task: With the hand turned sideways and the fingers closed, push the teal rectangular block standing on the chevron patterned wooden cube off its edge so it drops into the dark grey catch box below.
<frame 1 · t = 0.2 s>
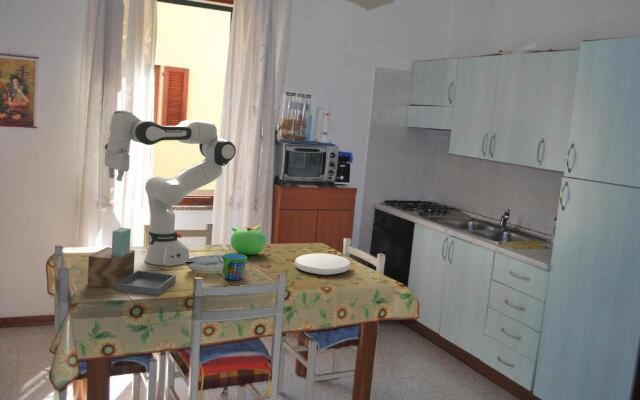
hand: (115, 179, 262), 39 cm above the table, tool pointing down, fingers open, 8 cm apart
snack cup: (233, 278, 266), on the table
plate: (322, 269, 296), on the table
chevron patterned wooden cube: (111, 281, 246), on the table
green eared pot: (247, 254, 311), on the table
catch box: (146, 286, 244), on the table
teal rectangular block: (120, 254, 244), point 12 cm above the table, touching chevron patterned wooden cube
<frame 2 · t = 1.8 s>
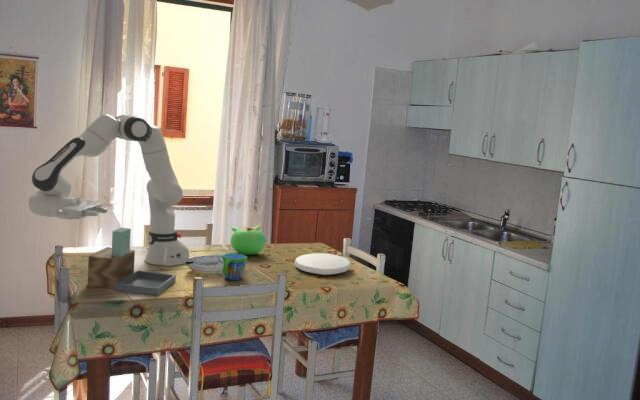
hand: (101, 212, 242), 28 cm above the table, tool horizontal, fingers open, 6 cm apart
nothing on the table moved.
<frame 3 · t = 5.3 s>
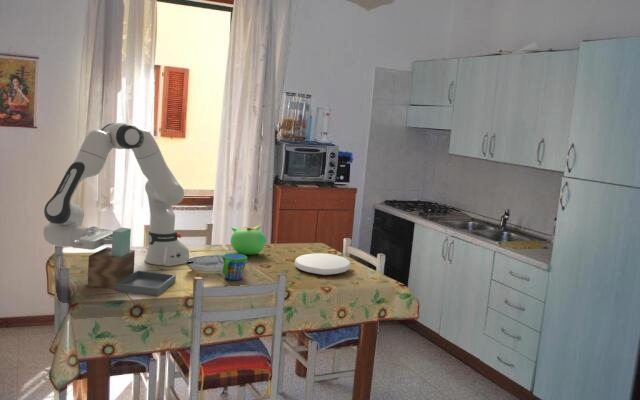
hand: (116, 241, 243), 17 cm above the table, tool horizontal, fingers closed, pressing on teal rectangular block
teal rectangular block: (120, 254, 244), point 12 cm above the table, touching chevron patterned wooden cube, gripper
everything else where it was.
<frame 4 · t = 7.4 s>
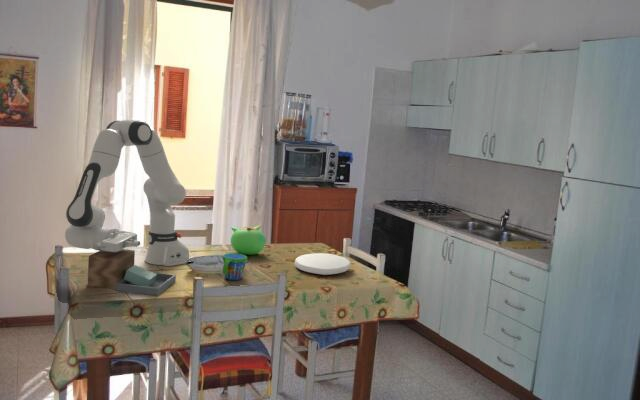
hand: (138, 244, 242), 17 cm above the table, tool horizontal, fingers closed
teal rectangular block: (129, 272, 244), point 5 cm above the table, tilted 106°, touching catch box
everything else where it was.
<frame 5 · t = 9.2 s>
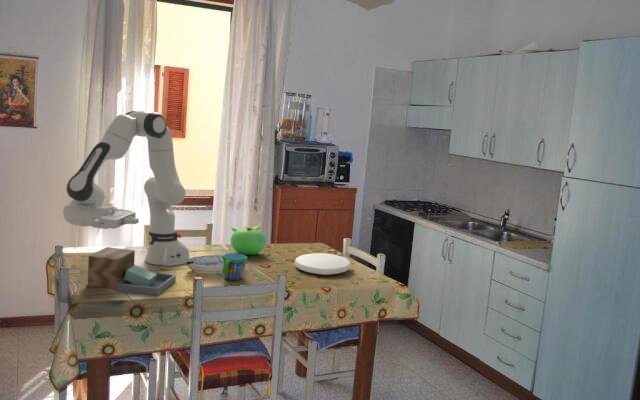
hand: (137, 221, 241), 26 cm above the table, tool horizontal, fingers closed
nothing on the table moved.
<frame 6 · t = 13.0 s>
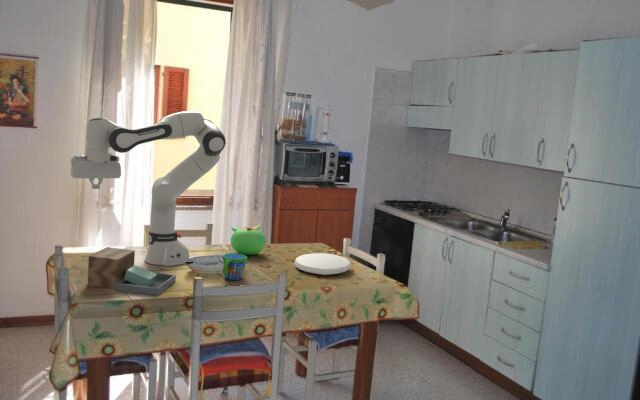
hand: (95, 188, 255), 35 cm above the table, tool pointing down, fingers closed
nothing on the table moved.
at the end: teal rectangular block touching catch box; teal rectangular block point 5.0 cm above the table; teal rectangular block 7.5 cm from the catch box (horizontally) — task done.
